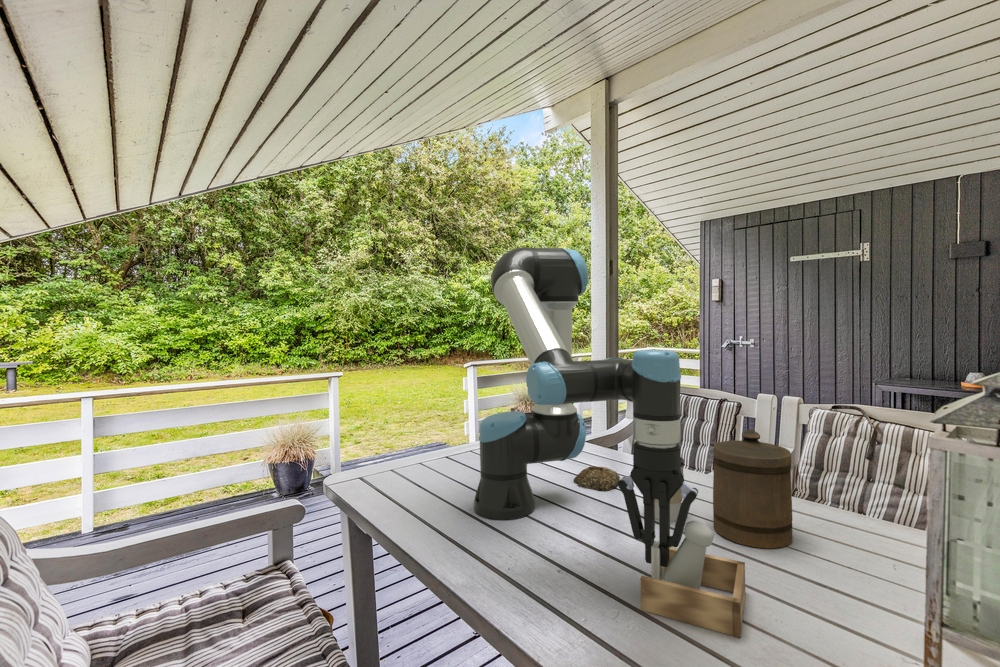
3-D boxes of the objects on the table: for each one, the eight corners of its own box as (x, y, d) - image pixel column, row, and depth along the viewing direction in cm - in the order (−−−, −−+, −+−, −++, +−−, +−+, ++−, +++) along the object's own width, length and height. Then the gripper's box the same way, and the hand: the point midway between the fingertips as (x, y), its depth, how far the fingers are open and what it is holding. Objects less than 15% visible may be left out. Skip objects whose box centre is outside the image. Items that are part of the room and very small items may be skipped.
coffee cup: (689, 524, 104) (687, 458, 104) (646, 522, 106) (645, 456, 106) (681, 509, 113) (680, 447, 113) (642, 507, 115) (641, 446, 115)
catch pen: (640, 609, 74) (640, 578, 73) (658, 571, 85) (657, 544, 85) (740, 637, 66) (740, 602, 66) (745, 592, 78) (744, 562, 78)
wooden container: (806, 536, 97) (804, 431, 97) (769, 556, 89) (767, 442, 89) (737, 513, 110) (735, 420, 110) (699, 529, 102) (697, 429, 102)
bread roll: (625, 481, 136) (624, 464, 136) (610, 494, 125) (610, 475, 125) (583, 474, 142) (583, 458, 142) (566, 486, 132) (566, 469, 132)
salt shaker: (658, 598, 75) (682, 529, 72) (659, 575, 80) (681, 510, 77) (696, 614, 73) (722, 544, 70) (694, 589, 78) (718, 523, 75)
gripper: (611, 443, 78) (612, 583, 78) (694, 452, 71) (695, 606, 72) (624, 434, 84) (625, 564, 85) (701, 442, 78) (701, 583, 78)
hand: (657, 583), depth 78 cm, fingers closed
